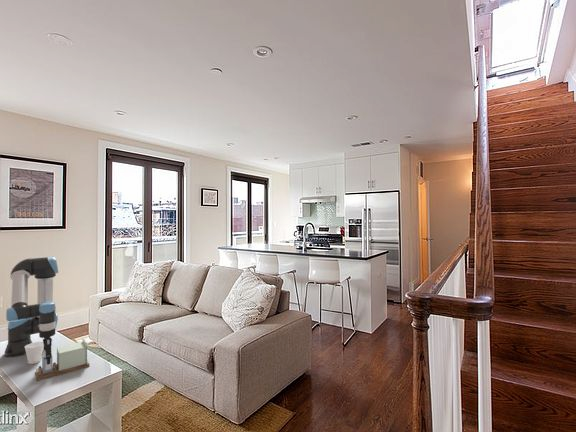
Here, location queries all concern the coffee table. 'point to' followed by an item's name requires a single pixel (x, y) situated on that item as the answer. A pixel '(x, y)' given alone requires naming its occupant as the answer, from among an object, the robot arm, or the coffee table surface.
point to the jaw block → (44, 365)
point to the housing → (72, 355)
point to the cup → (34, 352)
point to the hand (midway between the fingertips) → (47, 365)
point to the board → (56, 371)
